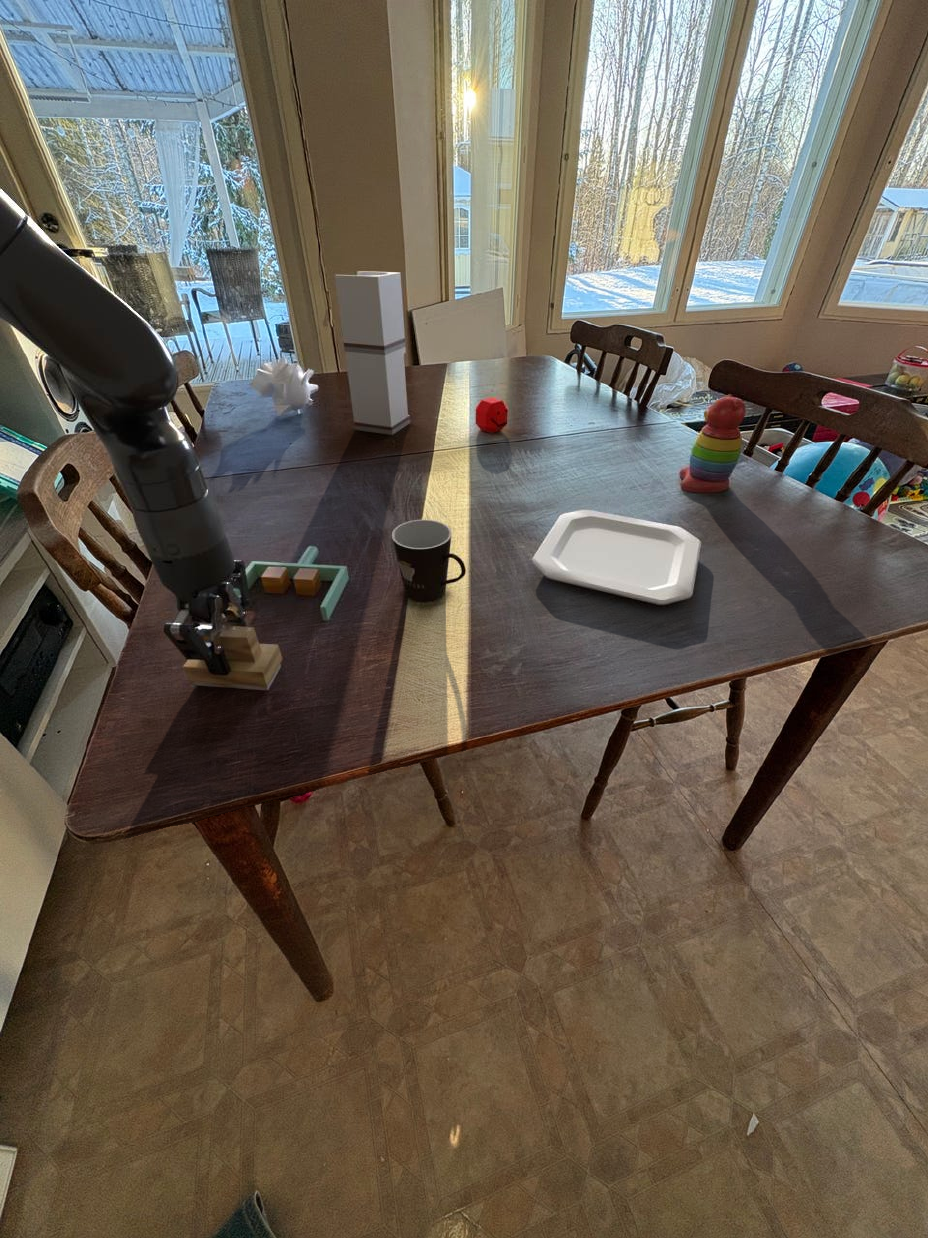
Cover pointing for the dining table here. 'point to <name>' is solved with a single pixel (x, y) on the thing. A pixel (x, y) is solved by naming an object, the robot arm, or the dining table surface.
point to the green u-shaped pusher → (325, 571)
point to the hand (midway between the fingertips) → (232, 657)
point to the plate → (621, 556)
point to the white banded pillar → (374, 349)
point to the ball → (491, 415)
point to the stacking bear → (715, 448)
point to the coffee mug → (424, 558)
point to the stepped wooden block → (239, 661)
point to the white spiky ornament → (284, 385)
